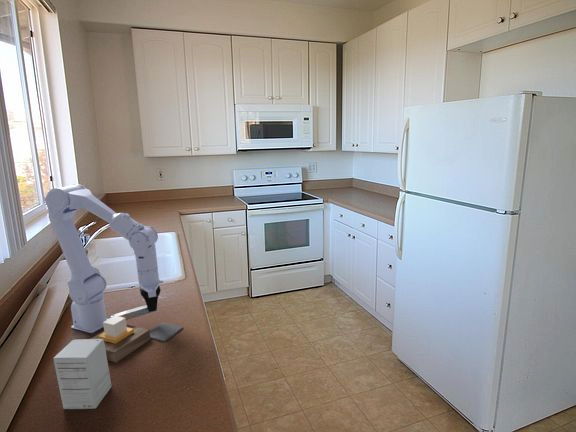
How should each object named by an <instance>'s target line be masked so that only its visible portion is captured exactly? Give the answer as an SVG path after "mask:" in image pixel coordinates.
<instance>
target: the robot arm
mask: <svg viewBox="0 0 576 432" xmlns="http://www.w3.org/2000/svg"><path fill="white" fill-rule="evenodd" d="M44 201H45V204H46V207H47V210H48V212H47V213H48V220H49V222H50V224H51V226H52V229H53V231H54V235H55V236H56V239H57V242H58V244H59V246H60V248H61V250H62V251H61V252H62V253H63V255H64V258H65V261H66V263H67V266H68V269H69V270H70V277H69V278H68V281H67V285H68V294H69V297H70V298H69V299H71V300H72V303H71V306H70V311H71V317H72V323H73V325H71V327H70V328H71V329H75V330H78V331H82V332H86V333H89V334H94V333H95V332H97V331H100V330H101V329H102V328H104V326H103V322H104V321H106V320H108V319H109V318H107V313H106V306H105V301H104V294H105V293H104V291H105V290H106V288H107V280H106V278H105V277H104V275H102V274H101V271H100V270H99V269H98V268H97V267H95V266H92V264H91V262H90V259H89V257H88V254H87V252H86V250H85V248H84V245H83V242H82V240H81V237H80V235H79V232H78V229H77V227H76V225H75V222H74V220H73V217H74V216H75V214H76V212H77V211H78V210H86V211H88V212H90V213H91V214H92V215H94V216H97V218H100V219H102V220H103V221H105V222H107V223H108V224H109V228H110V230H112V231H113V232H115V234H118V235H119V236H121V237H122V238H124V239H125V240H127V241H128V243H129V247H130V248H131V249H132V250H133V253H134V257H135V263H136V270H137V271H136V272H137V279H138V283H137V284H138V288H140V289H139V292H140V296H141V297H142V298H143V299H144V302H145V305H147V308H148V310H149V312H151V313H153V312H152V311H155V312H157V311H158V300H159V295H160V293H161V287H160V285H161V284H163V283H164V279H163V278H160V276H159V275H160V274H159V266H158V260H157V259H158V258H157V251H156V250H157V248H156V242H157V241H158V239H159V237H158V235H159V234H158V232H157V230H156V229H154V227H152V226H150V225H144V224H143V223H140V222H138V221H136V220H135V219H133V218H132V217H131V214H129V213H127V212H126V213H125V212H119V213H117V212H116V211H115V210H114V209H112V208H111V207H109V206H108V205H107V204H105V203H104V202H102V201H101V200H100V199H98V198H97V197H96V196H95V195H93V194H92V191H91V190H90V189H89V188H86V187H85V186H84V185H82V184H80V183H74V184H71V185H66V186H61V187H54V188H52V189H50V190H48V192H47V194H46V196H45V197H44ZM156 310H157V311H156Z"/></svg>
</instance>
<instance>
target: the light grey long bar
mask: <svg viewBox="0 0 576 432" xmlns="http://www.w3.org/2000/svg"><path fill="white" fill-rule="evenodd" d="M157 311H158V309H157V310H156V311H152V312H149V310H148V308H147V304H145V305H141V306H138V307H134V308H131V309H128V310H123V311H120V312H118V313H114V314H110V315H108V319H110V318H112V317H114V316H119V317H123V318H125V319H126V321H127V320H131V319H134V318H138V317H141V316H144V315H147V314H151V313H155V312H157Z"/></svg>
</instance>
